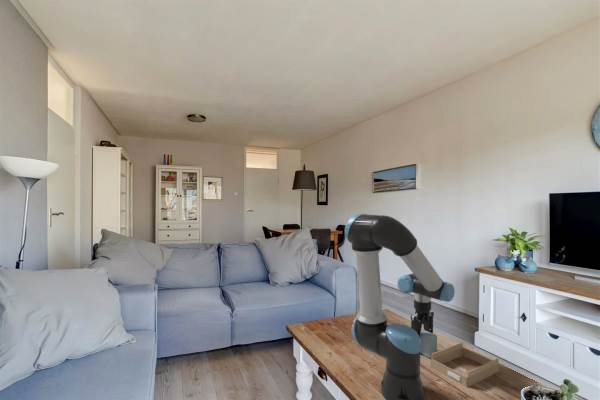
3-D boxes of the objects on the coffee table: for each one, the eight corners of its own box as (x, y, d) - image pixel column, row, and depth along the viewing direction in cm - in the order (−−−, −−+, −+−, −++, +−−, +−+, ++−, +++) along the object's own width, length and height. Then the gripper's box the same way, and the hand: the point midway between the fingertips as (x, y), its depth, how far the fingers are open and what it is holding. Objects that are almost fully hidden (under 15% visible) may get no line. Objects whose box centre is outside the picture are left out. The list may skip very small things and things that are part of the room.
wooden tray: (466, 388, 113) (466, 372, 113) (430, 368, 127) (430, 354, 127) (499, 372, 124) (499, 358, 124) (462, 355, 138) (462, 342, 138)
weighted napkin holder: (429, 358, 134) (429, 337, 134) (408, 346, 145) (408, 327, 145) (436, 355, 137) (437, 335, 137) (415, 344, 147) (415, 325, 147)
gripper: (415, 306, 133) (415, 358, 133) (442, 299, 142) (441, 349, 142) (402, 301, 140) (402, 351, 140) (428, 295, 148) (428, 342, 148)
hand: (422, 350), depth 141 cm, fingers closed on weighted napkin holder, 5 cm apart
